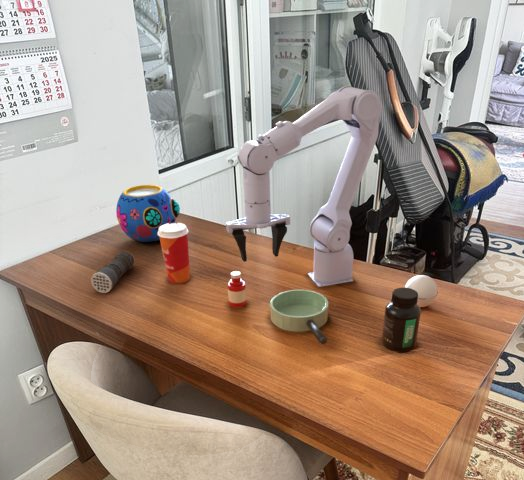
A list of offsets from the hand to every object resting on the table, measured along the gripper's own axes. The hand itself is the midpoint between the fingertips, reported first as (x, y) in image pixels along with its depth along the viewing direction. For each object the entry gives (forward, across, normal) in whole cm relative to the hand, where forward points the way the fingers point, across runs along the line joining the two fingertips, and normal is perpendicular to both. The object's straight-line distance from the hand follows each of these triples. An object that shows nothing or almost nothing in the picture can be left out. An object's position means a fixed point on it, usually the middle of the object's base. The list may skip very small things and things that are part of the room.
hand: (259, 257), depth 121 cm
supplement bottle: (+10, +20, -31) cm, 38 cm away
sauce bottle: (+10, -7, -3) cm, 12 cm away
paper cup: (+10, -18, +16) cm, 26 cm away
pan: (+10, +5, -14) cm, 18 cm away
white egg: (+10, +33, -19) cm, 40 cm away
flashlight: (+10, -34, +21) cm, 41 cm away
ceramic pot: (+10, -22, +47) cm, 53 cm away
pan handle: (+8, +5, -24) cm, 26 cm away
